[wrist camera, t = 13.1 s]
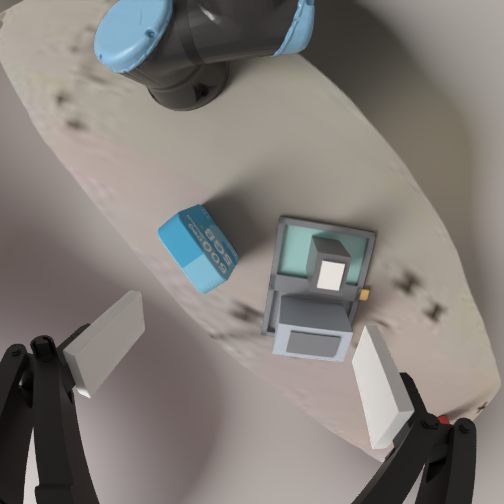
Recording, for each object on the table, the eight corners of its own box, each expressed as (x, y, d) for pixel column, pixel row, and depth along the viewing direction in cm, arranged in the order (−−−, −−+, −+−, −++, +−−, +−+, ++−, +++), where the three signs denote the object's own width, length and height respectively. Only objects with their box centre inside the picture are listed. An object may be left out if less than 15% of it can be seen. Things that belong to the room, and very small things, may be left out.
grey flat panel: (279, 216, 47) (279, 217, 45) (380, 233, 45) (383, 235, 44) (261, 331, 53) (260, 335, 52) (349, 342, 52) (351, 346, 50)
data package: (240, 257, 50) (226, 283, 38) (221, 270, 51) (202, 298, 39) (201, 202, 48) (175, 212, 36) (183, 217, 49) (153, 231, 37)
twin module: (281, 295, 50) (278, 324, 40) (342, 304, 49) (353, 334, 39) (275, 323, 52) (272, 355, 42) (335, 330, 51) (343, 363, 41)
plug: (311, 235, 47) (318, 253, 37) (339, 240, 46) (352, 258, 36) (305, 268, 48) (309, 293, 38) (332, 272, 48) (342, 297, 38)
